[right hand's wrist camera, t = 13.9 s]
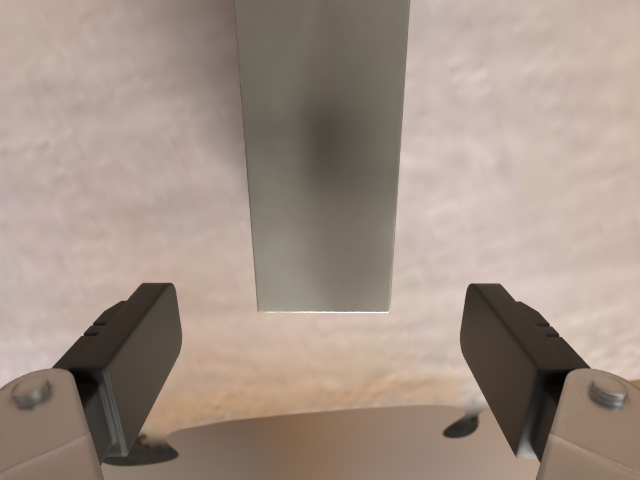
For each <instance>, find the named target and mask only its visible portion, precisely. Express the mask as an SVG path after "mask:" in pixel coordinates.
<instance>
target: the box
mask: <svg viewBox="0 0 640 480" xmlns="http://www.w3.org/2000/svg"><path fill="white" fill-rule="evenodd" d="M234 9H235V22H236V35H237V48H238V61H239V74H240V87H241V100H242V113H243V126H244V139H245V152H246V165H247V178H248V191H249V204H250V217H251V230H252V243H253V256H254V269H255V282H256V295H257V308H258V312H322V313H389V312H390V302H391V286H392V271H393V255H394V240H395V225H396V209H397V194H398V178H399V163H400V148H401V132H402V117H403V101H404V86H405V71H406V55H407V40H408V24H409V9H410V0H234Z"/></svg>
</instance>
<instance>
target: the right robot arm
mask: <svg viewBox="0 0 640 480" xmlns="http://www.w3.org/2000/svg"><path fill="white" fill-rule="evenodd" d="M181 344H182V330H181V323H180V316H179V309H178V303H177V296H176V290H175V287H174V285H173V284H172V283H142V284H141V285H140V286H139V287H138V288H137V290H136V291H135V292H134V293H133V294H132V295H131V297H130V298H129V299H128V300H127V301H121V302H119V303H117V304H116V305H114V306H112V307H111V308H109V309H107V310H106V311H104V312H103V313H102V314H101V315H100V317H99V318H98V319H97V320H96V321H95V322H94V323H93V326H90V327H89V328H88V329H87V331H86V332H85V333H84V336H81V337H80V338H79V339H78V340H77V341H76V342H75V344H74V345H73V346H72V347H71V348H70V349H69V350H68V351H67V352H66V353H65V354H64V355H63V356H62V358H61V359H60V360H59V361H58V362H57V363H56V364H55V365H54V366H53V367H52V368H51V369H43V370H38V371H35V372H31V373H28V374H26V375H23V376H21V377H19V378H16V379H14V380H13V381H11V382H9V383H8V384H6V385H5V386H3V387H2V388H1V389H0V480H104V477H103V474H102V470H101V467H100V466H101V464H102V463H103V461H104V459H105V457H127V455H128V453H129V451H130V449H131V448H132V446H133V444H134V442H135V440H136V438H137V436H138V434H139V432H140V430H141V428H142V426H143V424H144V422H145V420H146V418H147V416H148V414H149V412H150V410H151V408H152V406H153V404H154V403H155V401H156V399H157V397H158V395H159V393H160V391H161V389H162V387H163V385H164V383H165V381H166V379H167V377H168V375H169V373H170V371H171V369H172V367H173V365H174V363H175V361H176V359H177V357H178V355H179V353H180V349H181ZM460 344H461V350H462V353H463V356H464V358H465V360H466V362H467V364H468V366H469V368H470V370H471V372H472V373H473V375H474V377H475V379H476V381H477V383H478V385H479V387H480V389H481V391H482V393H483V395H484V397H485V399H486V401H487V402H488V404H489V406H490V408H491V410H492V412H493V414H494V416H495V418H496V420H497V422H498V424H499V426H500V428H501V430H502V431H503V433H504V435H505V437H506V439H507V441H508V443H509V445H510V447H511V449H512V451H513V453H514V455H515V457H516V458H538V460H539V462H540V463H541V464H540V467H539V470H538V474H537V477H536V480H640V389H639V388H638V387H637V386H635V385H634V384H632V383H631V382H629V381H627V380H626V379H624V378H621V377H619V376H617V375H614V374H612V373H609V372H605V371H602V370H597V369H591V368H590V367H589V366H588V365H587V364H586V363H585V361H584V360H583V359H582V358H581V357H580V356H579V355H578V354H577V353H576V352H575V351H574V350H573V349H572V348H571V346H570V345H569V344H568V343H567V342H566V341H565V340H564V339H563V338H562V337H559V334H558V333H557V332H556V330H555V329H554V328H553V327H550V324H549V323H548V322H547V321H546V320H545V319H544V318H543V317H542V315H541V314H540V313H539V312H537V311H536V310H534V309H532V308H531V307H529V306H527V305H526V304H524V303H522V302H516V301H515V300H514V299H513V298H512V297H511V295H510V294H509V293H508V292H507V291H506V290H505V289H504V287H503V286H502V285H501V284H470V285H469V286H468V288H467V292H466V298H465V305H464V311H463V318H462V325H461V331H460Z"/></svg>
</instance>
